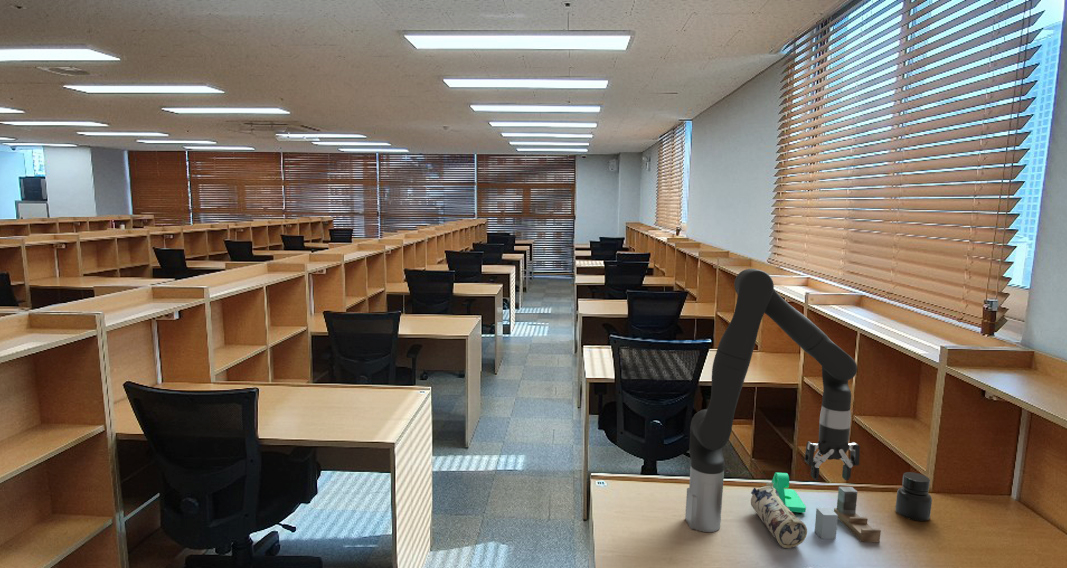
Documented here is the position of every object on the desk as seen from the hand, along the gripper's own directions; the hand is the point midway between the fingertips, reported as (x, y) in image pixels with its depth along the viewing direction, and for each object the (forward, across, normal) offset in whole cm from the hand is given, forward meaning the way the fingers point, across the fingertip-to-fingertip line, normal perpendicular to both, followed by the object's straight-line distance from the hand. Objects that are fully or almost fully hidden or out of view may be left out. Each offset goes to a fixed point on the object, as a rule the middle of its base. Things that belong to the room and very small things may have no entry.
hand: (830, 479), depth 167 cm
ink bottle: (+17, +33, +12) cm, 39 cm away
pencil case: (+17, -13, +2) cm, 21 cm away
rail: (+17, +11, +4) cm, 20 cm away
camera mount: (+17, -4, +17) cm, 24 cm away
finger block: (+16, 0, 0) cm, 17 cm away
